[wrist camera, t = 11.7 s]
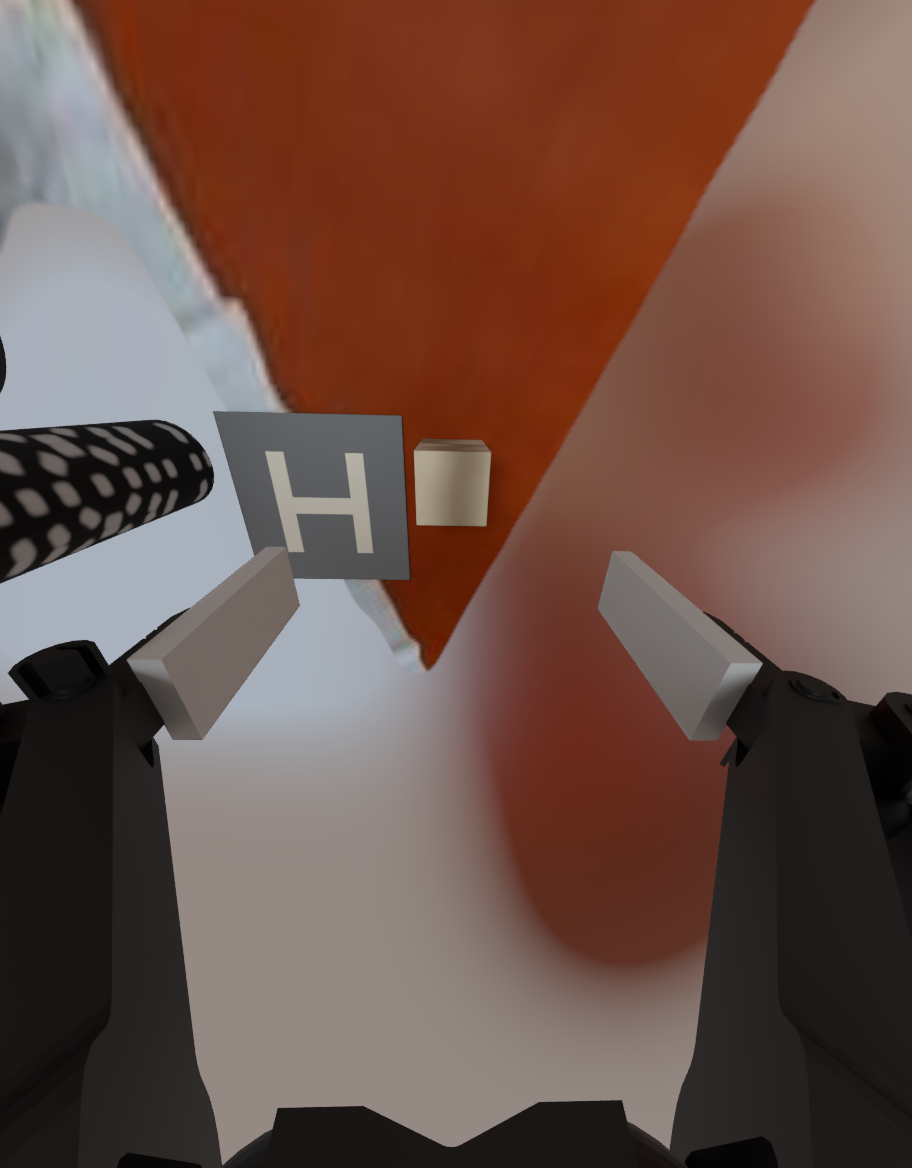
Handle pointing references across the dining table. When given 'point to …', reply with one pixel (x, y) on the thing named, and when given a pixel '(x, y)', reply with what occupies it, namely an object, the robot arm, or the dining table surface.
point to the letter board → (322, 490)
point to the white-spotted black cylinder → (91, 486)
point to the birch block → (452, 482)
